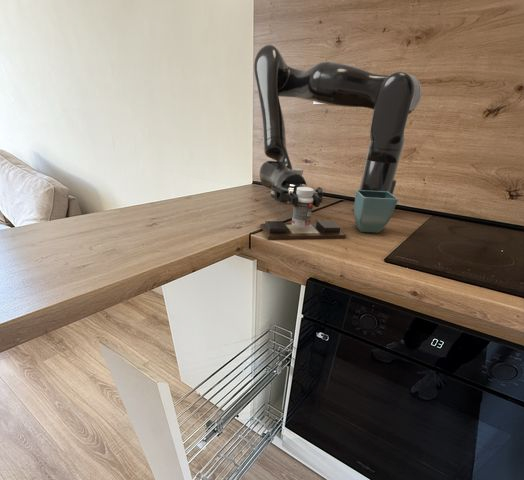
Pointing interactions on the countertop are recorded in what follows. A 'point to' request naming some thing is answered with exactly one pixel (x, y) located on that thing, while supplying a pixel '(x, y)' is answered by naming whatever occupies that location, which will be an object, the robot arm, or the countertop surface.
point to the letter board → (301, 230)
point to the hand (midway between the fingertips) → (307, 202)
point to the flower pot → (373, 209)
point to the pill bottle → (303, 207)
